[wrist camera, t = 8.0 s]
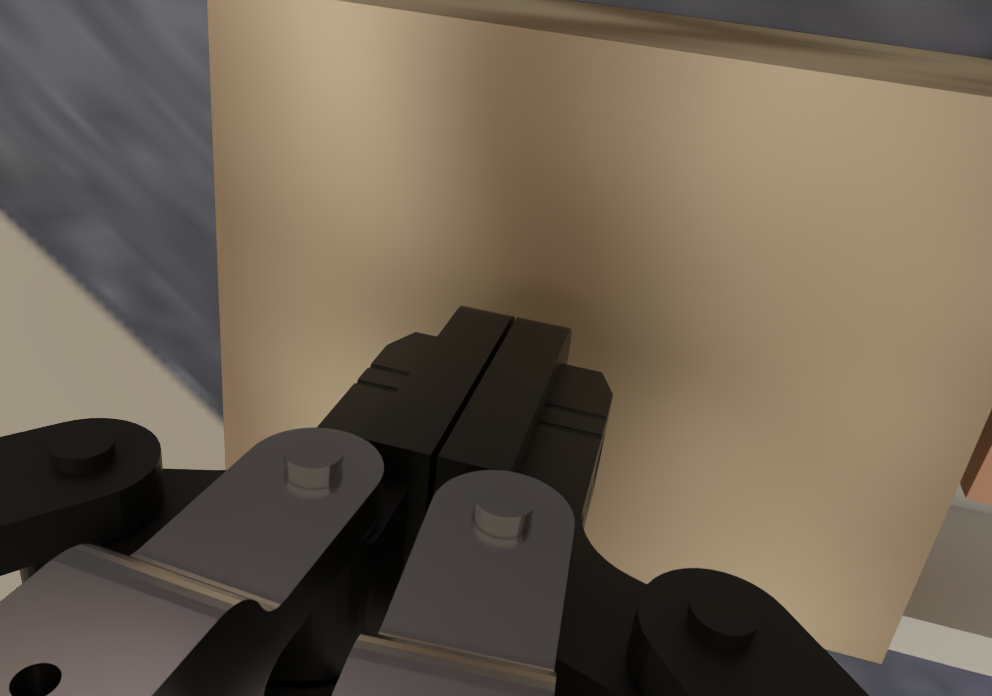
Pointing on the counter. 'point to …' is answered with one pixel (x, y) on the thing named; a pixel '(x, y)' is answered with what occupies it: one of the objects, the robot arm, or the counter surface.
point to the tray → (954, 593)
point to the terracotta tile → (980, 468)
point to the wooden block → (633, 260)
